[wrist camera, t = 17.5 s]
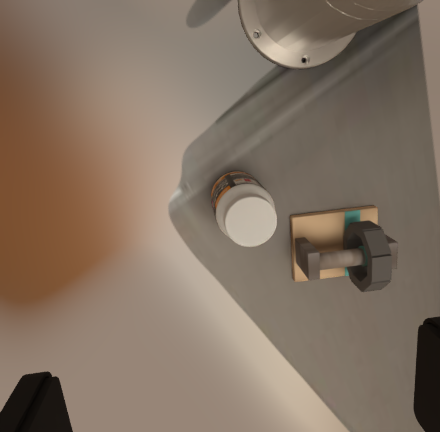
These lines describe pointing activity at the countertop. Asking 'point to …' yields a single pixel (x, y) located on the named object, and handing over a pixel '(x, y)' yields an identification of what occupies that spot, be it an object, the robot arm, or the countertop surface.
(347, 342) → the countertop surface
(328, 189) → the countertop surface
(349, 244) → the octagonal nut
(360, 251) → the rail
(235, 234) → the pill bottle
